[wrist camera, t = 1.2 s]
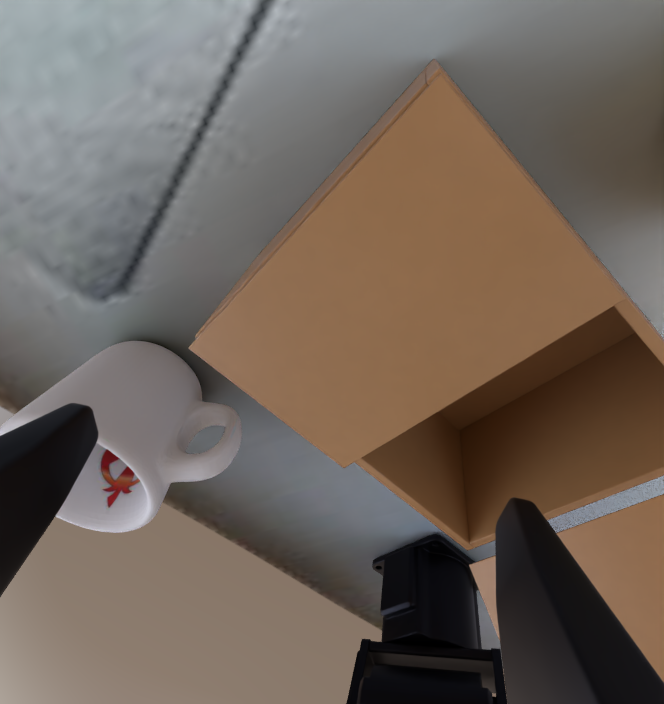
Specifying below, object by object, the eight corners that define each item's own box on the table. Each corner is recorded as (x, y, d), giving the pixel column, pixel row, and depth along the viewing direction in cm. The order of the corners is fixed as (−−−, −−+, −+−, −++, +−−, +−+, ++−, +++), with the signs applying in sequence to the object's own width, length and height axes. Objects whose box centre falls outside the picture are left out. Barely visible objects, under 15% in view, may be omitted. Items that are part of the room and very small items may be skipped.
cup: (255, 328, 24) (192, 434, 18) (272, 435, 29) (227, 551, 22) (75, 318, 26) (-43, 411, 19) (118, 421, 30) (34, 524, 24)
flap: (758, 459, 14) (758, 460, 14) (468, 564, 19) (472, 564, 19) (1004, 765, 10) (999, 759, 10) (559, 787, 15) (562, 783, 16)
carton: (652, 324, 20) (761, 460, 14) (457, 432, 26) (468, 566, 19) (434, 57, 16) (440, 68, 9) (258, 255, 22) (185, 348, 15)
